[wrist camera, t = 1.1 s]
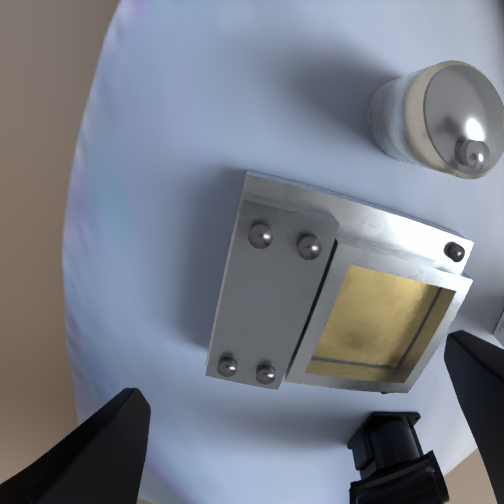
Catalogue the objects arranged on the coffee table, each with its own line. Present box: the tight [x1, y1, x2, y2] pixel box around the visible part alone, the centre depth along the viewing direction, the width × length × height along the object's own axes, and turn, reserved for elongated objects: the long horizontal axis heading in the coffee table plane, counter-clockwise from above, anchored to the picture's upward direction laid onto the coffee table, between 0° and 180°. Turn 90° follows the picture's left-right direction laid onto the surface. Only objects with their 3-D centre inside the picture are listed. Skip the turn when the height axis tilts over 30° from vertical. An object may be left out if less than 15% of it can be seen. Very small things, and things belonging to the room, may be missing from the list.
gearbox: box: [205, 170, 473, 394], centre depth 19 cm, size 16×14×5 cm
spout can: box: [368, 61, 504, 179], centre depth 12 cm, size 6×6×8 cm
